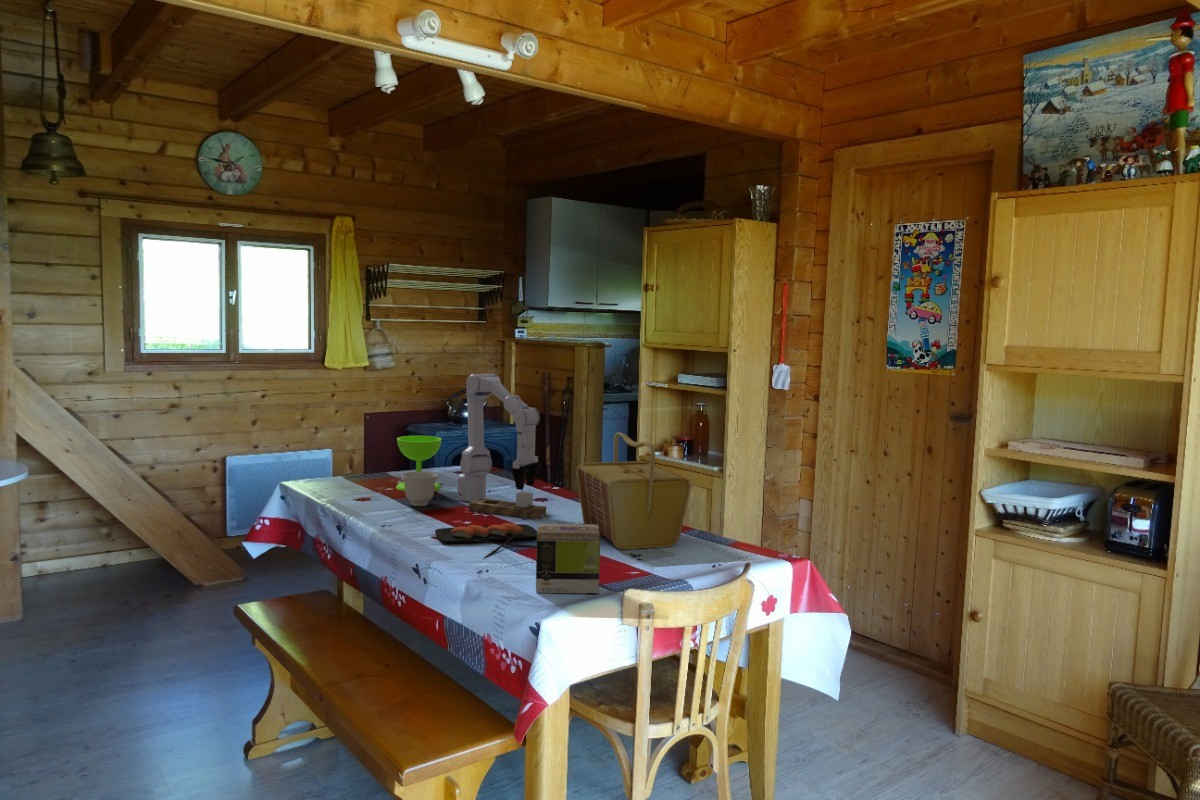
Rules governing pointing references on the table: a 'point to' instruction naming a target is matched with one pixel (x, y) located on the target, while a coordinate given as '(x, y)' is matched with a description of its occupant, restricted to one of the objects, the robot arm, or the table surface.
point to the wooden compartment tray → (506, 508)
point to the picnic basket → (633, 500)
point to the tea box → (567, 558)
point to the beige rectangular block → (524, 500)
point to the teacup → (419, 487)
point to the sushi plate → (487, 534)
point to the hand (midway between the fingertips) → (524, 487)
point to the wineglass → (418, 451)
